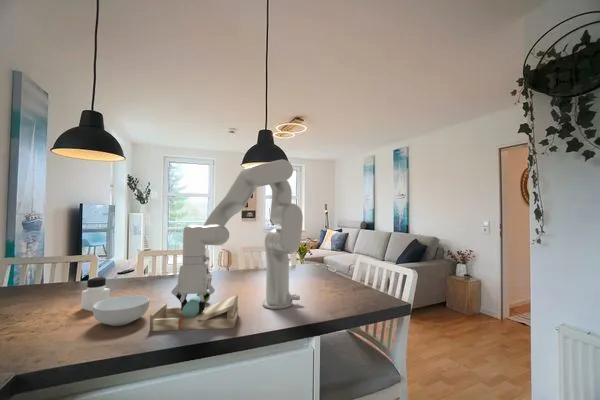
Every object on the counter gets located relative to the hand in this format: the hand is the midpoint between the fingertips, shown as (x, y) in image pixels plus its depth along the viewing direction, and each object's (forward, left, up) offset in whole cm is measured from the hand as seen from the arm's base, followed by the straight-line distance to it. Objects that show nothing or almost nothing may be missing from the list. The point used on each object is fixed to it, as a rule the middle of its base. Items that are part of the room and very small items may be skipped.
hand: (192, 312), depth 99 cm
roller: (0, 0, +2) cm, 2 cm away
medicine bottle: (+43, -19, -4) cm, 47 cm away
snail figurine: (+1, -21, -4) cm, 21 cm away
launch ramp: (-2, 0, -4) cm, 4 cm away
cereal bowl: (+25, -3, -4) cm, 25 cm away
